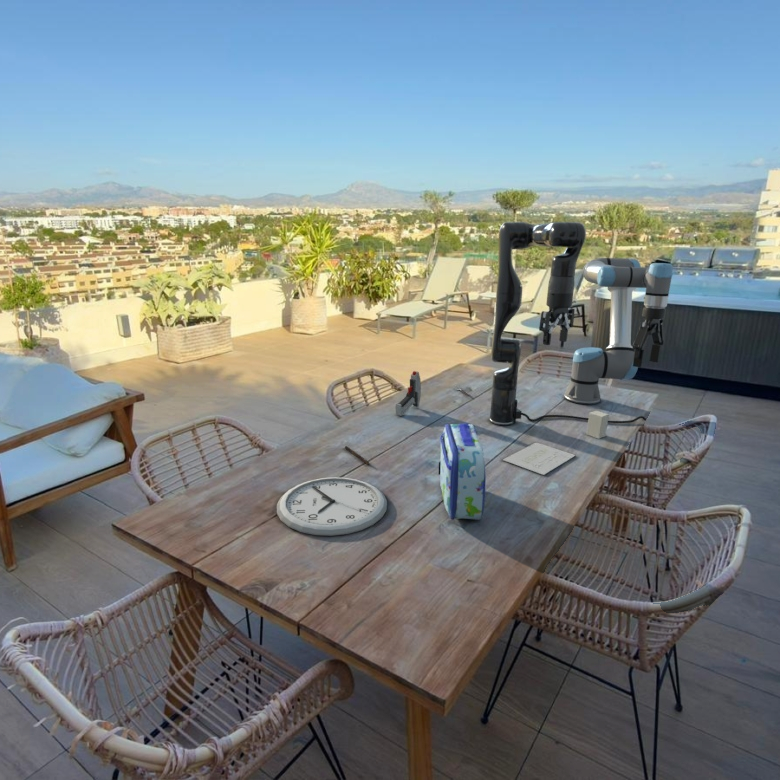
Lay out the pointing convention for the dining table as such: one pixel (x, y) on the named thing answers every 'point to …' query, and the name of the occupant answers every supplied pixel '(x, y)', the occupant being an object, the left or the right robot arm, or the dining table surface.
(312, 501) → the wall clock
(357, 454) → the dark brown rod
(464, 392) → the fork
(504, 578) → the dining table surface
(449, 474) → the lunch box
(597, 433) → the block
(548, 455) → the invitation card
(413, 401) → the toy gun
